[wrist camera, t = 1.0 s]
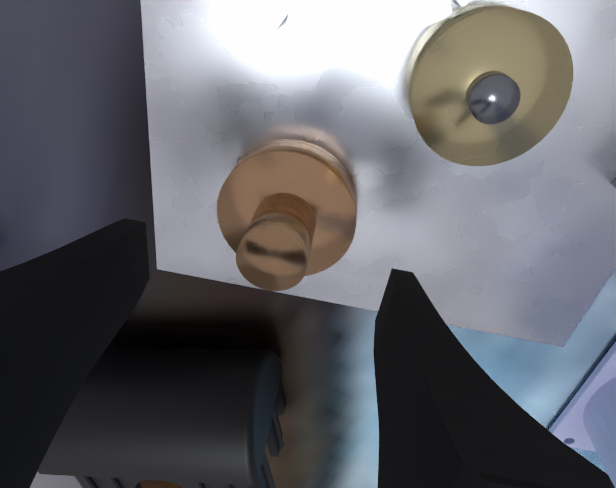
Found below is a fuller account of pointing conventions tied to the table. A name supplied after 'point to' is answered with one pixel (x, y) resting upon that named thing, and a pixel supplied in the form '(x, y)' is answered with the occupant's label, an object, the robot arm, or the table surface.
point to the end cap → (173, 420)
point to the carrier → (403, 143)
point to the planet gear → (287, 212)
